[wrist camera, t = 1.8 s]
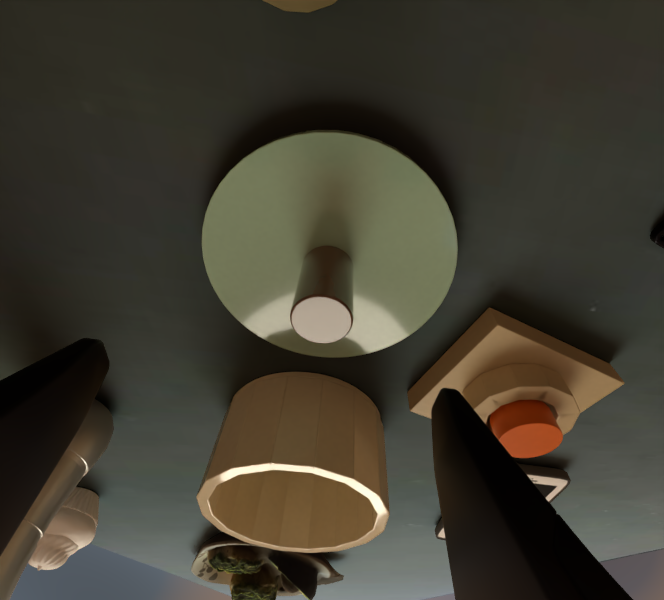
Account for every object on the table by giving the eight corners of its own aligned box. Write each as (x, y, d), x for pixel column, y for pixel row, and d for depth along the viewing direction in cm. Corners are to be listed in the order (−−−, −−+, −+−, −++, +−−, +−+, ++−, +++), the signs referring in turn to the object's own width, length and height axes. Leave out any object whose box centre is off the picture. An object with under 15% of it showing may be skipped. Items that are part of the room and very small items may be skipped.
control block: (610, 363, 24) (644, 407, 21) (513, 432, 29) (530, 475, 26) (489, 306, 22) (508, 346, 19) (406, 391, 27) (412, 433, 24)
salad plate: (294, 594, 56) (290, 634, 52) (180, 568, 51) (166, 609, 48) (356, 554, 45) (356, 600, 41) (219, 517, 41) (205, 565, 37)
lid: (509, 208, 18) (560, 264, 14) (373, 371, 26) (377, 443, 21) (253, 66, 15) (209, 78, 11) (184, 297, 23) (141, 362, 18)
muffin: (72, 507, 41) (27, 581, 36) (42, 479, 38) (-13, 557, 32) (122, 507, 41) (85, 583, 35) (96, 479, 37) (50, 558, 32)
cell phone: (431, 529, 39) (433, 539, 39) (482, 456, 31) (486, 467, 30) (500, 537, 40) (503, 547, 39) (570, 468, 31) (576, 479, 30)
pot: (412, 406, 28) (427, 501, 22) (338, 478, 35) (335, 565, 29) (257, 348, 25) (228, 439, 19) (211, 439, 32) (179, 526, 26)
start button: (563, 409, 22) (577, 435, 21) (520, 439, 24) (531, 464, 23) (517, 390, 21) (528, 415, 20) (477, 422, 23) (485, 447, 22)
